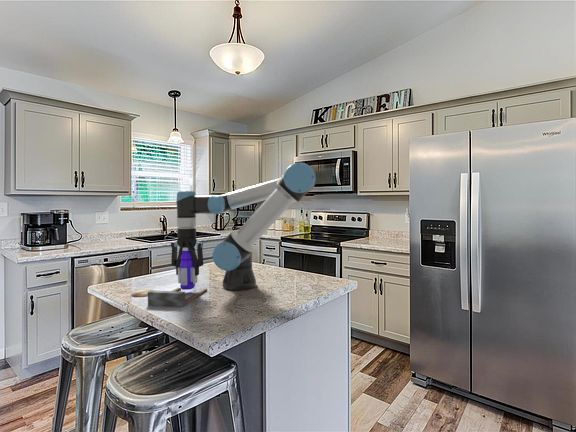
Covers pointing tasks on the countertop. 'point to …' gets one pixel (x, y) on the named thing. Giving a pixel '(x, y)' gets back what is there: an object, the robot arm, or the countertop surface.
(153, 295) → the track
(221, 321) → the countertop surface
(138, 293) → the cork trivet
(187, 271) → the bottle
